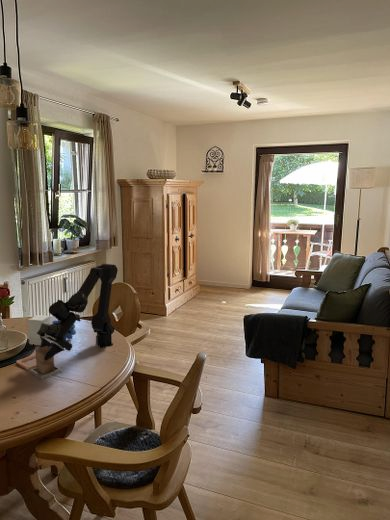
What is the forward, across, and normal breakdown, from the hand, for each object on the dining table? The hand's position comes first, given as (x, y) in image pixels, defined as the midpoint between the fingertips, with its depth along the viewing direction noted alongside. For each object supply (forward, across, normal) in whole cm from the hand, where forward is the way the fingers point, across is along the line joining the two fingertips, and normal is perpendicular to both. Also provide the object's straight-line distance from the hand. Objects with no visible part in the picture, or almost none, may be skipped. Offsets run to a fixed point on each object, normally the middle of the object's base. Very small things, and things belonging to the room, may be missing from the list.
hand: (41, 358), depth 157 cm
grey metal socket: (+4, 0, +6) cm, 7 cm away
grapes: (-12, -24, +22) cm, 35 cm away
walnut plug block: (+4, 0, +6) cm, 7 cm away
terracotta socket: (+3, -12, +6) cm, 14 cm away
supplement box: (-6, -31, +16) cm, 36 cm away
